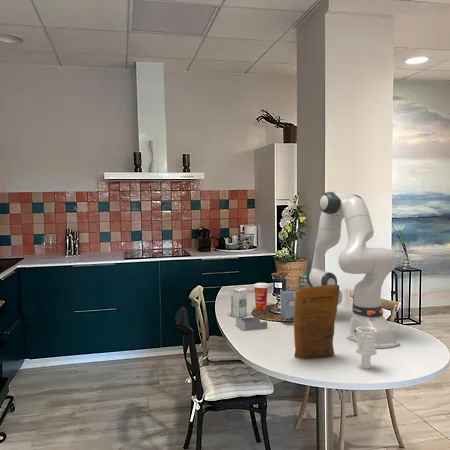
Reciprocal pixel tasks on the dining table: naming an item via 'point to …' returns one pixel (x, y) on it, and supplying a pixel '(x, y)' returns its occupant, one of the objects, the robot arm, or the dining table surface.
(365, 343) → the white stepped cylinder
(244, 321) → the channel bracket
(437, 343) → the dining table surface
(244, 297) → the syrup box
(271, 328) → the dining table surface
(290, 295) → the block
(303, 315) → the pancake mix bag
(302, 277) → the chalk box
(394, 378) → the dining table surface
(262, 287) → the paper cup
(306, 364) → the dining table surface
